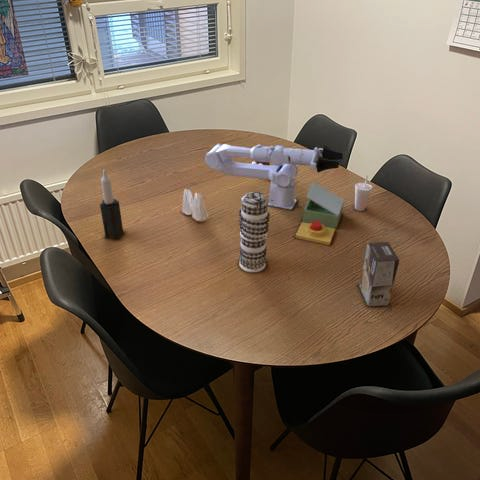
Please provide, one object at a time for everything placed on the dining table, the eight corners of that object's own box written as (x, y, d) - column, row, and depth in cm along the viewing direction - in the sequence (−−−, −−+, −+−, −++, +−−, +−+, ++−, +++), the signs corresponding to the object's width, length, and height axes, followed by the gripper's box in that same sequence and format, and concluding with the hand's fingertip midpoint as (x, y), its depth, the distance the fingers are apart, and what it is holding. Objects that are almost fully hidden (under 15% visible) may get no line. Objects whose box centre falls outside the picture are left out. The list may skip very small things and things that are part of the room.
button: (309, 230, 160) (310, 225, 159) (312, 224, 163) (312, 220, 162) (320, 232, 159) (320, 227, 158) (322, 226, 162) (322, 222, 161)
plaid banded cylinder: (257, 276, 142) (261, 207, 129) (232, 266, 146) (233, 198, 133) (272, 261, 149) (276, 193, 135) (247, 252, 153) (249, 185, 139)
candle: (124, 232, 162) (115, 167, 148) (116, 240, 158) (106, 174, 144) (112, 229, 163) (101, 165, 150) (104, 237, 159) (92, 171, 145)
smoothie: (368, 213, 175) (374, 180, 167) (351, 211, 176) (356, 178, 168) (367, 205, 180) (374, 172, 172) (351, 203, 181) (356, 171, 173)
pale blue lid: (305, 197, 163) (306, 195, 163) (313, 183, 172) (313, 181, 172) (337, 216, 163) (338, 215, 162) (343, 201, 172) (344, 200, 171)
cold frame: (302, 222, 169) (303, 209, 166) (309, 207, 178) (310, 195, 175) (336, 229, 166) (338, 216, 163) (341, 213, 175) (343, 201, 172)
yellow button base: (295, 237, 161) (296, 230, 159) (301, 224, 168) (302, 217, 166) (329, 245, 157) (330, 238, 155) (334, 231, 164) (335, 224, 163)
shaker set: (209, 221, 168) (208, 195, 162) (200, 225, 166) (199, 199, 160) (190, 208, 176) (189, 182, 170) (181, 212, 174) (179, 186, 168)
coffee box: (389, 305, 132) (400, 261, 124) (367, 306, 132) (377, 261, 123) (378, 284, 140) (388, 241, 131) (358, 285, 140) (366, 242, 131)
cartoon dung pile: (275, 170, 204) (276, 150, 199) (265, 177, 198) (266, 157, 193) (255, 165, 208) (256, 145, 203) (245, 172, 202) (246, 152, 197)
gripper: (297, 154, 160) (337, 157, 155) (307, 139, 171) (344, 142, 167) (297, 173, 163) (336, 176, 159) (307, 157, 175) (343, 160, 170)
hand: (340, 160), depth 163 cm, fingers open, 7 cm apart
